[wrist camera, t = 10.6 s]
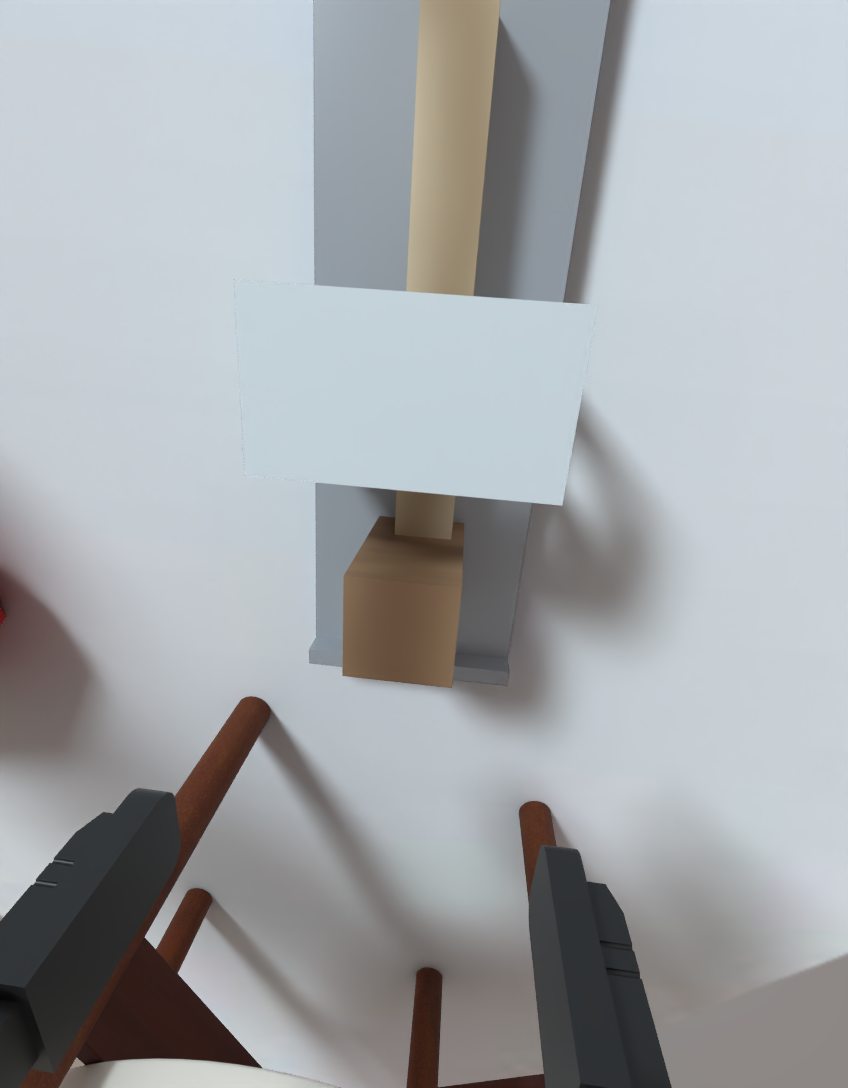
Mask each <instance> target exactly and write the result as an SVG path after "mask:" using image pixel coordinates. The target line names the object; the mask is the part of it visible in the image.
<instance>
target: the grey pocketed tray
mask: <svg viewBox="0 0 848 1088" xmlns="http://www.w3.org/2000/svg"><path fill="white" fill-rule="evenodd" d="M609 6H610V0H501V3H500V15H499V26H498V37H497V48H496V59H495V70H494V80H493V91H492V102H491V113H490V124H489V135H488V146H487V157H486V168H485V178H484V189H483V200H482V211H481V222H480V233H479V244H478V255H477V266H476V277H475V287H474V296H464V295H449V294H435V293H421V292H407V291H406V287H407V266H408V245H409V225H410V204H411V183H412V163H413V142H414V121H415V100H416V80H417V59H418V38H419V17H420V0H313V54H314V264H315V285H307V284H293V283H278V282H264V281H250V280H236V279H233V281H234V299H235V316H236V334H237V352H238V369H239V387H240V405H241V422H242V440H243V458H244V475H245V476H252V477H263V478H274V479H284V480H295V481H306V482H316V639H315V640H314V642H313V644H312V646H311V647H310V649H309V663H312V664H321V665H330V666H338V667H343V576H344V574H345V573H346V571H347V569H348V568H349V566H350V564H351V563H352V561H353V559H354V558H355V556H356V554H357V553H358V551H359V549H360V548H361V546H362V544H363V543H364V541H365V539H366V538H367V536H368V534H369V533H370V531H371V529H372V528H373V526H374V524H375V522H376V521H377V519H378V517H379V516H387V517H395V515H396V494H397V490H402V491H412V492H423V493H434V494H444V495H455V505H454V516H453V523H464V547H463V575H462V593H461V603H460V612H459V622H458V632H457V641H456V651H455V661H454V670H453V680H460V681H468V682H477V683H486V684H494V685H503V686H507V684H508V678H509V665H508V653H509V647H510V640H511V634H512V627H513V621H514V615H515V608H516V602H517V595H518V589H519V583H520V576H521V570H522V563H523V557H524V551H525V544H526V538H527V531H528V525H529V519H530V512H531V506H532V503H540V504H551V505H562V504H563V499H564V493H565V488H566V482H567V476H568V471H569V465H570V460H571V454H572V449H573V443H574V437H575V432H576V426H577V421H578V415H579V409H580V404H581V398H582V393H583V387H584V382H585V376H586V370H587V365H588V359H589V354H590V348H591V342H592V337H593V331H594V326H595V320H596V315H597V309H598V305H592V304H577V303H563V301H564V294H565V288H566V281H567V275H568V269H569V262H570V256H571V249H572V243H573V237H574V230H575V224H576V217H577V211H578V205H579V198H580V192H581V185H582V179H583V173H584V166H585V160H586V153H587V147H588V141H589V134H590V128H591V121H592V115H593V109H594V102H595V96H596V89H597V83H598V77H599V70H600V64H601V57H602V51H603V44H604V38H605V32H606V25H607V19H608V12H609Z"/></svg>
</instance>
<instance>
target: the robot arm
mask: <svg viewBox="0 0 848 1088" xmlns="http://www.w3.org/2000/svg"><path fill="white" fill-rule="evenodd" d="M180 848H181V837H180V830H179V823H178V816H177V809H176V802H175V797H174V795H173V794H172V793H170V792H163V791H156V790H148V789H141V788H138V789H135V790H133V791H132V792H131V793H130V794H129V795H128V796H127V797H126V798H125V800H124V801H123V802H122V803H121V805H120V806H119V807H118V808H117V810H116V811H115V812H114V813H113V814H112V813H105V812H103V813H102V814H100V815H99V816H97V817H96V818H95V819H93V820H92V821H91V822H89V823H88V824H87V825H85V826H84V827H83V828H81V829H80V830H78V831H77V832H76V833H75V834H74V835H73V836H72V838H71V839H70V840H69V841H68V842H67V843H66V845H65V846H64V847H63V848H62V849H61V850H60V852H59V853H58V854H57V855H56V856H55V858H54V861H53V862H52V863H49V865H48V866H47V867H46V868H45V869H44V871H43V872H42V873H41V874H40V875H39V876H38V878H37V879H36V882H35V884H34V885H31V886H30V887H29V888H28V889H27V891H26V892H25V893H24V894H23V895H22V896H21V898H20V899H19V900H18V901H17V902H16V904H15V905H14V906H13V907H12V908H11V909H10V911H9V912H8V913H7V914H6V915H5V917H4V918H3V919H2V920H1V921H0V1088H19V1087H20V1085H21V1084H22V1082H23V1081H24V1079H25V1077H26V1076H27V1074H28V1073H29V1071H30V1069H33V1070H39V1071H44V1072H50V1073H55V1071H56V1069H57V1067H58V1066H59V1064H60V1062H61V1061H62V1059H63V1057H64V1056H65V1054H66V1052H67V1051H68V1049H69V1047H70V1045H71V1044H72V1042H73V1040H74V1039H75V1037H76V1035H77V1034H78V1032H79V1030H80V1029H81V1027H82V1025H83V1023H84V1022H85V1020H86V1018H87V1017H88V1015H89V1013H90V1012H91V1010H92V1008H93V1006H94V1005H95V1003H96V1001H97V1000H98V998H99V996H100V995H101V993H102V991H103V990H104V988H105V986H106V984H107V983H108V981H109V979H110V978H111V976H112V974H113V973H114V971H115V969H116V968H117V966H118V964H119V962H120V961H121V959H122V957H123V956H124V954H125V952H126V951H127V949H128V947H129V946H130V944H131V942H132V940H133V939H134V937H135V935H136V934H137V932H138V930H139V929H140V927H141V925H142V923H143V922H144V920H145V918H146V917H147V915H148V913H149V912H150V910H151V908H152V907H153V905H154V903H155V901H156V900H157V898H158V896H159V895H160V893H161V891H162V890H163V888H164V886H165V885H166V883H167V881H168V879H169V878H170V876H171V874H172V872H173V870H174V868H175V866H176V863H177V860H178V857H179V853H180ZM529 930H530V940H531V950H532V960H533V969H534V979H535V989H536V999H537V1009H538V1019H539V1029H540V1039H541V1049H542V1058H543V1068H544V1078H545V1088H671V1084H670V1080H669V1077H668V1073H667V1069H666V1066H665V1062H664V1058H663V1055H662V1051H661V1048H660V1044H659V1040H658V1037H657V1033H656V1029H655V1026H654V1022H653V1019H652V1015H651V1011H650V1008H649V1004H648V1000H647V997H646V993H645V990H644V986H643V982H642V979H640V971H639V968H638V964H637V960H636V957H635V953H634V952H633V950H632V942H631V939H630V935H629V931H628V928H627V924H626V921H625V917H624V913H623V912H622V910H621V908H620V907H619V905H618V904H617V902H616V900H615V899H614V897H613V896H612V894H611V892H610V891H609V889H608V888H607V886H606V884H600V883H593V882H586V877H585V873H584V868H583V864H582V860H581V856H580V853H579V851H578V850H577V849H570V848H563V847H555V846H548V845H541V846H540V849H539V853H538V858H537V863H536V867H535V872H534V877H533V881H532V886H531V890H530V897H529Z"/></svg>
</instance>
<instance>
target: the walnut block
mask: <svg viewBox="0 0 848 1088" xmlns="http://www.w3.org/2000/svg"><path fill="white" fill-rule="evenodd" d="M463 547H464V523H453V526H452V536H451V540H448V539H438V538H427V537H416V536H405V535H395V517H387V516H379V517H378V519H377V521H376V522H375V524H374V526H373V528H372V529H371V531H370V533H369V534H368V536H367V538H366V539H365V541H364V543H363V544H362V546H361V548H360V549H359V551H358V553H357V554H356V556H355V558H354V559H353V561H352V563H351V564H350V566H349V568H348V569H347V571H346V573H345V574H344V576H343V676H349V677H358V678H367V679H376V680H385V681H394V682H403V683H412V684H421V685H430V686H439V687H448V688H452V680H453V670H454V661H455V651H456V641H457V632H458V622H459V612H460V603H461V593H462V575H463Z"/></svg>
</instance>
